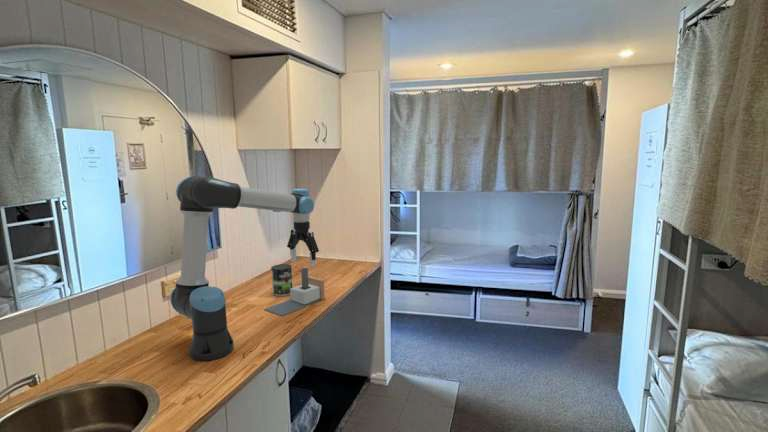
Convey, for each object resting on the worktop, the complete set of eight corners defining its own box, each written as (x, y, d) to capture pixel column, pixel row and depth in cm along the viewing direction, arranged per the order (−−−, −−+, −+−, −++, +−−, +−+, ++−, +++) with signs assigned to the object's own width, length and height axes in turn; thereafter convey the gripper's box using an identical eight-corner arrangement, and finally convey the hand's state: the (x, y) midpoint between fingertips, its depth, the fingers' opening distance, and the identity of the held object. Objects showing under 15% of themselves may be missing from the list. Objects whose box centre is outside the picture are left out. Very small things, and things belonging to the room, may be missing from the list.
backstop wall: (321, 300, 203) (320, 280, 201) (304, 294, 211) (303, 276, 209) (324, 299, 204) (323, 279, 203) (307, 293, 212) (306, 275, 211)
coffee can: (296, 292, 214) (295, 266, 212) (278, 297, 208) (276, 270, 205) (287, 288, 222) (285, 262, 220) (269, 292, 215) (267, 266, 213)
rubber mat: (281, 316, 184) (281, 315, 184) (264, 309, 192) (264, 309, 192) (324, 299, 204) (324, 298, 204) (307, 293, 212) (307, 293, 212)
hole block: (304, 304, 195) (303, 292, 194) (291, 300, 202) (290, 288, 201) (320, 298, 203) (319, 286, 202) (306, 294, 209) (306, 283, 208)
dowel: (305, 297, 200) (304, 270, 198) (301, 296, 202) (299, 269, 200) (310, 296, 202) (309, 268, 200) (306, 294, 204) (304, 267, 202)
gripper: (325, 222, 191) (326, 266, 194) (290, 217, 207) (292, 258, 210) (313, 224, 185) (314, 270, 189) (278, 219, 201) (280, 261, 204)
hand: (303, 264), depth 199 cm, fingers open, 13 cm apart
